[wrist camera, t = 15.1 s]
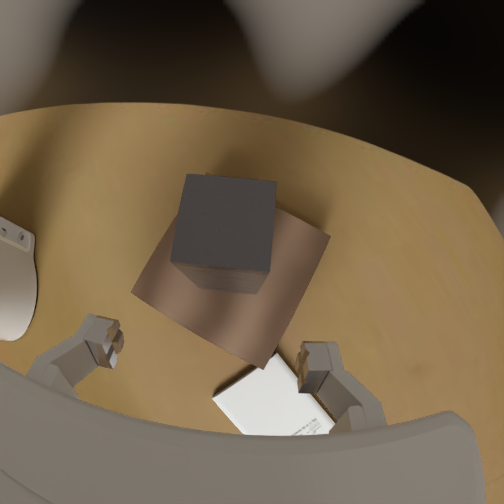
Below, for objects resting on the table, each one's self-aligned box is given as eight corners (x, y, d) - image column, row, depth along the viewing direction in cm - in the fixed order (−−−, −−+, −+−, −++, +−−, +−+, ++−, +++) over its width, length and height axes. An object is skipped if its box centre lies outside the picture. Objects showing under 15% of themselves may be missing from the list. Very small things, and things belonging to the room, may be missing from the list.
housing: (200, 288, 24) (169, 261, 13) (207, 235, 25) (186, 173, 14) (256, 294, 24) (270, 272, 13) (261, 240, 25) (276, 181, 15)
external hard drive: (275, 351, 27) (338, 427, 25) (212, 395, 25) (281, 468, 23) (277, 352, 25) (343, 432, 23) (211, 399, 24) (283, 474, 22)
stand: (144, 296, 27) (130, 292, 23) (209, 190, 31) (206, 172, 27) (260, 363, 26) (263, 370, 22) (319, 247, 29) (331, 236, 26)
